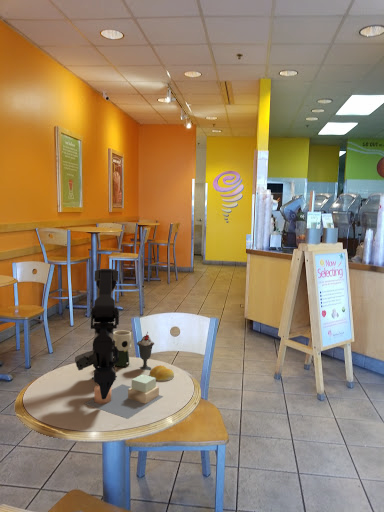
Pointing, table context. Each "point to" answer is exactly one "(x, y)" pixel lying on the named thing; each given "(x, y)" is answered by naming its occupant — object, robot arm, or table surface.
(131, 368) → the table surface
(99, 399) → the peach gumdrop
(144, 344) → the sundae
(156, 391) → the tower base
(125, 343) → the character mug
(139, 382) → the tower top
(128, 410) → the mat
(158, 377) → the bread roll
